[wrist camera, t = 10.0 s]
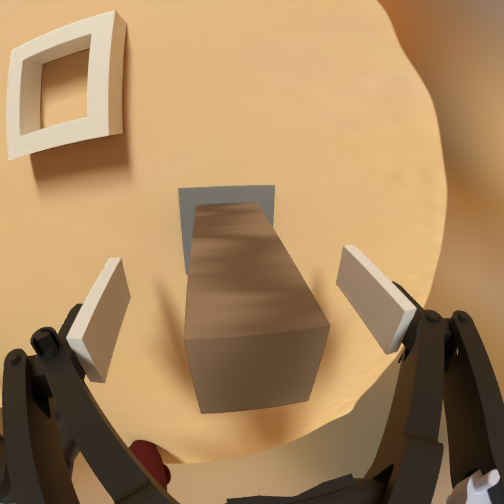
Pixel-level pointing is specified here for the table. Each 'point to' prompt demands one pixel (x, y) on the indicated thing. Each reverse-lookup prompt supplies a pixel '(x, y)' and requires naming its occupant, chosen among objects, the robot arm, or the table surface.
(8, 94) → the socket block
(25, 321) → the table surface
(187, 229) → the mat
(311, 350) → the peg
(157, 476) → the mug
